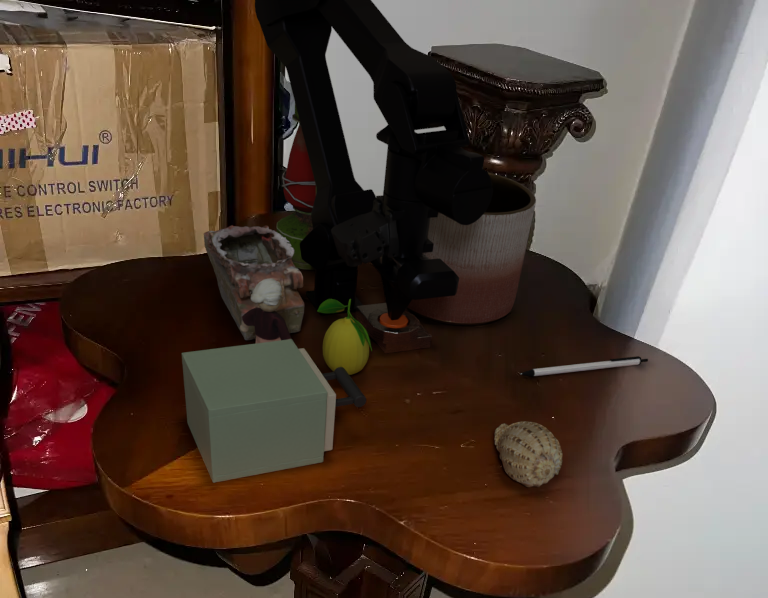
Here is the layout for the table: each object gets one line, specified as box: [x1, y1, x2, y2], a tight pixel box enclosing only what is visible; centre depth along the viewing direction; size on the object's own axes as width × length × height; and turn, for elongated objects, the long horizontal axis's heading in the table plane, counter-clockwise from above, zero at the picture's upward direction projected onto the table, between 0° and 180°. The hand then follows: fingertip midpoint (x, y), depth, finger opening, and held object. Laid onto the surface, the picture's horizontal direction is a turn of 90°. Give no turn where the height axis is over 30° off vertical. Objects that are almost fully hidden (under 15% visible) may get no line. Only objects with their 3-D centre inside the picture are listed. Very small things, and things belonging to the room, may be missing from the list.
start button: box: [379, 313, 408, 328], centre depth 98 cm, size 4×4×2 cm
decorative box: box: [203, 224, 305, 341], centre depth 100 cm, size 13×20×10 cm, turn 17°
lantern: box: [276, 103, 317, 271], centre depth 109 cm, size 14×11×30 cm
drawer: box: [298, 347, 367, 452], centre depth 80 cm, size 15×9×7 cm, turn 114°
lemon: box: [316, 299, 373, 376], centre depth 90 cm, size 7×6×10 cm
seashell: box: [494, 421, 563, 488], centre depth 82 cm, size 8×6×10 cm
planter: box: [406, 171, 537, 326], centre depth 106 cm, size 18×18×16 cm
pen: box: [520, 355, 649, 377], centre depth 99 cm, size 1×19×1 cm, turn 110°
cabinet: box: [181, 338, 327, 484], centre depth 79 cm, size 12×11×9 cm
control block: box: [354, 302, 433, 354], centre depth 101 cm, size 11×8×4 cm
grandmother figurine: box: [239, 278, 292, 344], centre depth 86 cm, size 8×4×13 cm, turn 65°
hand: (393, 318), depth 98 cm, fingers closed, pressing on start button
